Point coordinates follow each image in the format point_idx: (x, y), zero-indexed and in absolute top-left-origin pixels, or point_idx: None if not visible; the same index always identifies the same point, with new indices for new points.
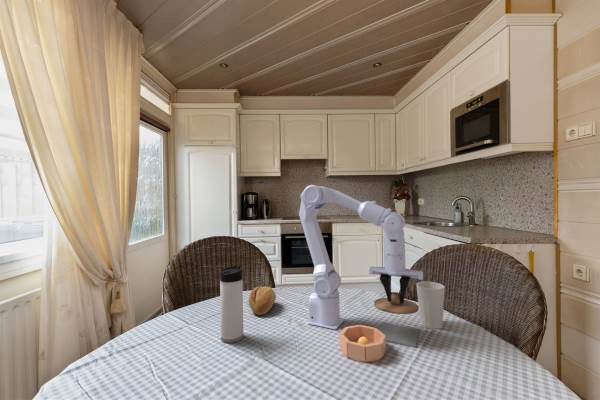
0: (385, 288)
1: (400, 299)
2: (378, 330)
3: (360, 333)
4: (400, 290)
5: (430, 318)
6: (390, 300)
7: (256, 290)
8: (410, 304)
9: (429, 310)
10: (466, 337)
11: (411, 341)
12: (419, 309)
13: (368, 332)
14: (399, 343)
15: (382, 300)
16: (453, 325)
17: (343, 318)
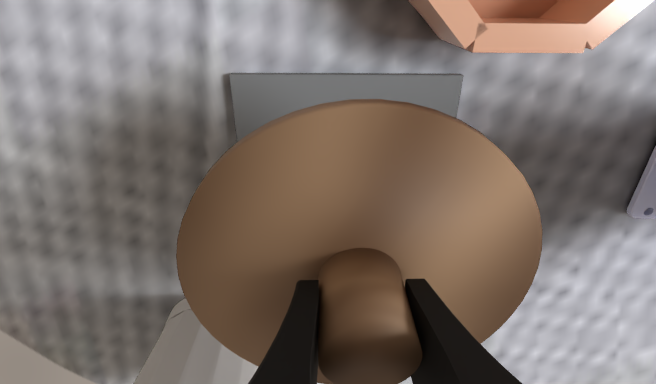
0: (497, 373)
1: (315, 300)
2: (448, 15)
3: (554, 19)
4: (309, 376)
5: (196, 327)
6: (406, 292)
7: None
8: (251, 315)
9: (186, 362)
10: (58, 272)
11: (258, 119)
12: (251, 374)
13: (508, 21)
14: (313, 73)
15: (468, 310)
16: (133, 347)
17: (634, 215)
